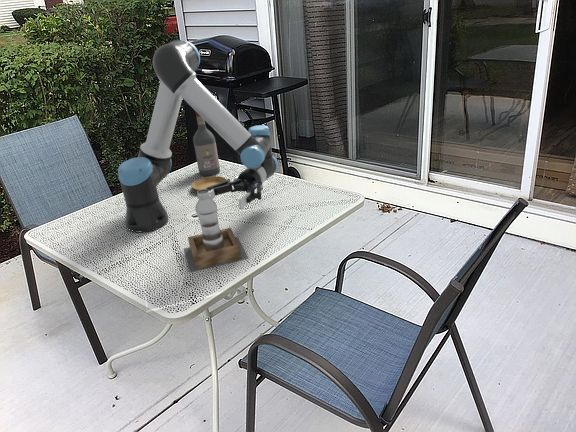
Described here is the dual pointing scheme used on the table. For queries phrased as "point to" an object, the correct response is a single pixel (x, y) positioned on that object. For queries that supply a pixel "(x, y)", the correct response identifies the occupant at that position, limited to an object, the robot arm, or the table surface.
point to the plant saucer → (207, 182)
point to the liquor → (205, 149)
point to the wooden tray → (215, 256)
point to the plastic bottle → (209, 221)
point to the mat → (193, 268)
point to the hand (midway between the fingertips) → (221, 203)
